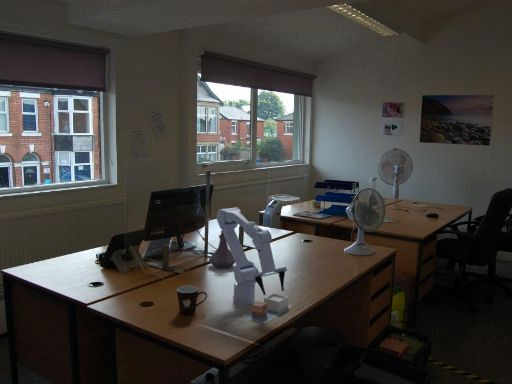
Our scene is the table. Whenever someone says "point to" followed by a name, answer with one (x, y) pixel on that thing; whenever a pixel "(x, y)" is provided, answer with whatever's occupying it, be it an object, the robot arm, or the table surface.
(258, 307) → the terracotta block
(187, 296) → the coffee mug
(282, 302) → the socket pedestal
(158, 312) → the table surface
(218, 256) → the flask
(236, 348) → the table surface
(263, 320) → the board
